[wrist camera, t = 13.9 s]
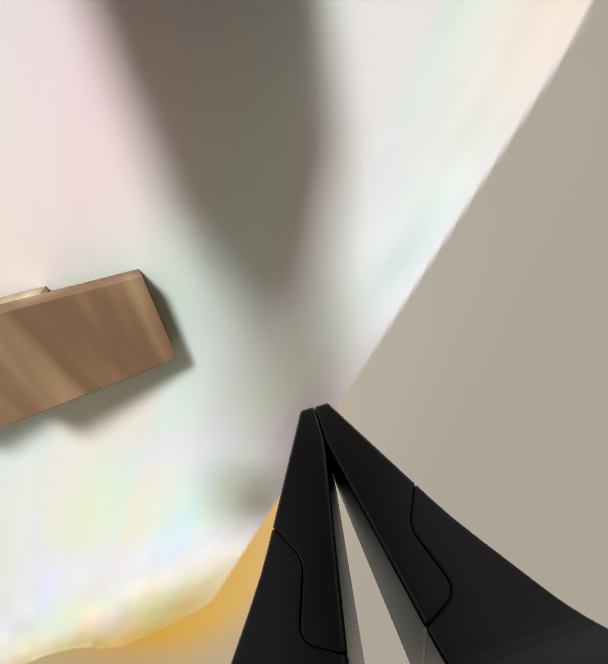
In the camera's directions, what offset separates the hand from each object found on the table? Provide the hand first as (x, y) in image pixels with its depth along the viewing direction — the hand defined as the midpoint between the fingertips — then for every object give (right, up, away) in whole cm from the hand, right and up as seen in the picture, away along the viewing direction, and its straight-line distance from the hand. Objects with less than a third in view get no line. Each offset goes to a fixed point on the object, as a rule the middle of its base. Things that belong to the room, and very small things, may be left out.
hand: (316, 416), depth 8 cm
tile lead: (-9, +3, +8) cm, 12 cm away
